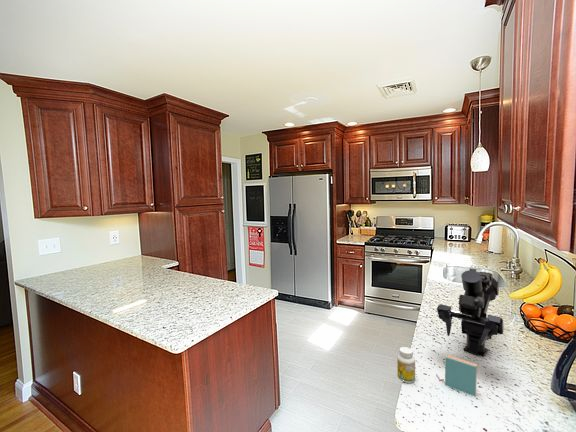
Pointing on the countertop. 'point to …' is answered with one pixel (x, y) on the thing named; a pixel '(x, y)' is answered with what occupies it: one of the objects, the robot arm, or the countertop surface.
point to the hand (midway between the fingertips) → (463, 339)
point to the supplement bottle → (406, 365)
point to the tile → (461, 374)
